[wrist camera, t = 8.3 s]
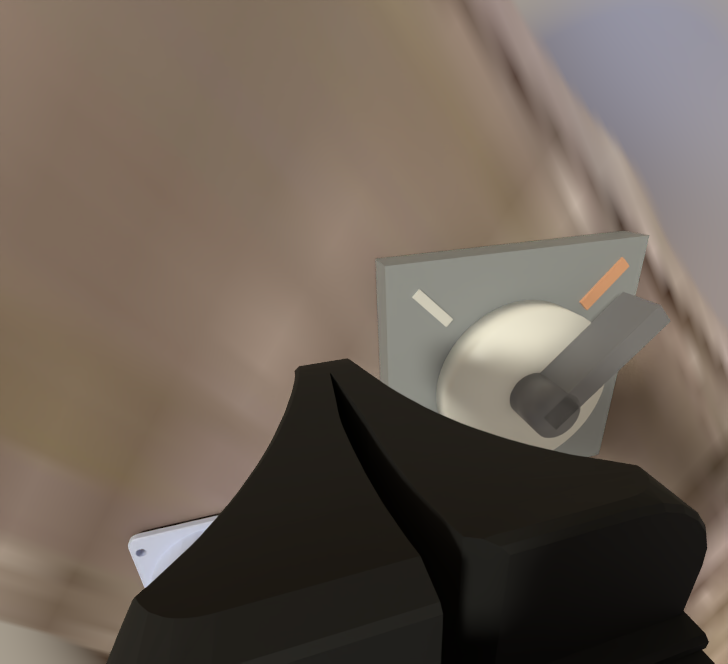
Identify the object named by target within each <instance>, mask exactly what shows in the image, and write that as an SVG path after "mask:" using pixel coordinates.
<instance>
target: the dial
mask: <svg viewBox="0 0 728 664" xmlns="http://www.w3.org/2000/svg"><path fill="white" fill-rule="evenodd" d="M669 322H670V319H669V318H668V316H667V314H666V313H665V311H664V310H663V308H662V306H661V305H659V304H656V303H654V302H651V301H648V300H645V299H642V298H639V297H637V296H634V295H631V294H628V293H625V292H622V293H621V294H620V295H619V296H618V297H617V298H616V299H615V300H614V301H613V302H612V303H611V304H610V305H609V306H608V307H607V308H606V309H605V310H604V311H603V312H602V313H601V314H600V315H599V316H598V317H597V318H596V319H595V320H594V321H593V322H592V323H591V322H590V321H588V320H587V319H586V318H584V317H582V316H580V315H578V314H576V313H574V312H572V311H570V310H568V309H566V308H563V307H561V306H559V305H557V304H555V303H551V302H548V301H542V300H524V301H518V302H514V303H510V304H507V305H504V306H502V307H500V308H497V309H495V310H493V311H492V312H490V313H488V314H486V315H485V316H483V317H482V318H480V319H479V320H478V321H476V322H475V323H474V324H473V325H472V326H471V327H469V328H468V329H467V330H466V331H465V332H464V333H463V335H462V336H461V337H460V338H459V339H458V340H457V342H456V343H455V344H454V346H453V347H452V349H451V350H450V352H449V354H448V355H447V357H446V359H445V361H444V363H443V366H442V368H441V371H440V374H439V378H438V382H437V389H436V403H437V410H438V413H439V414H441V415H443V416H446V417H448V418H450V419H453V420H455V421H457V422H460V423H462V424H465V425H468V426H470V427H473V428H476V429H479V430H482V431H485V432H488V433H491V434H494V435H497V436H500V437H503V438H507V439H510V440H514V441H517V442H521V443H525V444H528V445H532V446H537V447H541V448H545V449H549V450H554V449H556V448H557V447H559V446H560V445H561V444H563V443H564V442H565V441H566V440H568V439H569V438H570V437H571V436H572V435H573V434H574V433H575V432H576V431H577V430H578V429H579V428H580V427H581V426H582V425H583V423H584V422H585V421H586V420H587V418H588V417H589V415H590V414H591V413H592V411H593V409H594V408H595V406H596V404H597V402H598V400H599V398H600V396H601V393H602V391H603V388H604V385H605V383H606V382H607V381H608V380H609V379H610V378H611V377H612V376H613V375H615V374H616V373H617V372H618V371H619V370H620V369H621V368H622V367H623V366H624V365H625V364H626V363H627V362H628V361H629V360H630V359H631V358H632V357H633V356H635V355H636V354H637V353H638V352H639V351H640V350H641V349H642V348H643V347H644V346H645V345H646V344H647V343H648V342H649V341H650V340H651V339H652V338H653V337H655V336H656V335H657V334H658V333H659V332H660V331H661V330H662V329H663V328H664V327H665V326H666V325H667V324H668V323H669Z"/></svg>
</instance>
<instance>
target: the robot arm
mask: <svg viewBox="0 0 728 664" xmlns="http://www.w3.org/2000/svg"><path fill="white" fill-rule="evenodd" d="M128 548H129V551H130V553H131V556H132V558H133V561H134V563H135V565H136V568H137V570H138V573H139V575H140V578H141V580H142V583H143V585H144V588H145V589H144V590H142V591H141V592H140V593H139V594H138V595H137V596H136V597H135V598H134V599H133V600H132V603H131V605H130V607H129V610H128V612H127V614H126V617H125V619H124V621H123V624H122V626H121V629H120V631H119V633H118V636H117V638H116V641H115V643H114V646H113V648H112V651H111V653H110V656H109V658H108V661H107V663H106V664H715V663H714V662H713V661H712V660H711V659H710V658H709V657H708V656H707V655H706V654H705V653H704V652H703V650H702V649H704V648H706V646H707V644H708V642H709V641H708V639H707V637H706V634H705V633H704V632H703V631H702V630H701V629H700V628H699V626H698V625H697V624H696V623H695V622H694V621H693V620H692V619H691V618H690V617H689V616H688V615H687V614H686V613H685V612H684V611H683V610H684V608H685V605H686V603H687V601H688V598H689V596H690V593H691V591H692V589H693V586H694V584H695V581H696V579H697V577H698V574H699V572H700V570H701V567H702V564H703V561H704V557H705V554H706V550H707V539H706V528H705V524H704V523H703V521H702V519H701V518H700V516H699V514H698V513H697V512H696V511H695V510H693V509H692V508H691V507H690V506H688V505H687V504H686V503H685V502H683V501H682V500H681V499H680V498H678V497H677V496H676V495H675V494H673V493H672V492H671V491H670V490H668V489H667V488H666V487H664V486H663V485H662V484H661V483H659V482H658V481H657V480H656V479H654V478H653V477H652V476H651V475H649V474H648V473H647V472H646V471H644V470H643V469H642V468H640V467H639V466H637V465H631V464H625V463H619V462H613V461H607V460H601V459H595V458H590V457H584V456H578V455H572V454H567V453H562V452H558V451H554V450H549V449H545V448H541V447H537V446H532V445H528V444H525V443H521V442H517V441H514V440H510V439H507V438H503V437H500V436H497V435H494V434H491V433H488V432H485V431H482V430H479V429H476V428H473V427H470V426H468V425H465V424H462V423H460V422H457V421H455V420H453V419H450V418H448V417H446V416H443V415H441V414H439V413H436V412H434V411H432V410H430V409H428V408H426V407H424V406H422V405H420V404H418V403H417V402H415V401H413V400H411V399H409V398H407V397H405V396H404V395H402V394H400V393H399V392H397V391H395V390H394V389H392V388H390V387H389V386H387V385H386V384H384V383H383V382H381V381H380V380H378V379H377V378H375V377H374V376H372V375H371V374H369V373H368V372H366V371H365V370H363V369H362V368H361V367H359V366H358V365H356V364H355V363H354V362H352V361H351V360H349V359H348V358H347V359H341V360H335V361H329V362H323V363H317V364H311V365H304V366H299V367H298V368H297V369H296V370H295V381H294V386H293V390H292V393H291V396H290V399H289V402H288V405H287V408H286V411H285V413H284V416H283V418H282V420H281V422H280V424H279V426H278V429H277V431H276V433H275V435H274V437H273V439H272V441H271V443H270V444H269V446H268V448H267V450H266V451H265V453H264V455H263V456H262V458H261V460H260V461H259V463H258V464H257V466H256V468H255V469H254V470H253V472H252V473H251V475H250V476H249V477H248V479H247V480H246V482H245V483H244V485H243V486H242V487H241V489H240V490H239V491H238V493H237V494H236V495H235V497H234V498H233V499H232V500H231V502H230V503H229V504H228V505H227V506H226V507H225V509H224V510H223V511H222V512H221V513H220V514H219V515H217V516H213V517H208V518H204V519H200V520H195V521H191V522H187V523H182V524H178V525H174V526H169V527H165V528H160V529H156V530H152V531H147V532H143V533H139V534H136V535H133V536H132V537H131V539H130V541H129V544H128ZM140 549H144V550H140Z"/></svg>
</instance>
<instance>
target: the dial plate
mask: <svg viewBox="0 0 728 664" xmlns="http://www.w3.org/2000/svg"><path fill="white" fill-rule="evenodd" d="M648 238H649V235H644V234H639V233H634V232H629V231H618V232H610V233H601V234H592V235H583V236H574V237H565V238H556V239H547V240H538V241H529V242H520V243H511V244H503V245H494V246H485V247H476V248H467V249H458V250H449V251H440V252H431V253H422V254H413V255H404V256H396V257H387V258H378V259H376V284H377V310H378V335H379V360H380V381H381V382H383V383H384V384H386V385H387V386H389V387H390V388H392V389H394V390H395V391H397V392H399V393H400V394H402V395H404V396H405V397H407V398H409V399H411V400H413V401H415V402H417V403H418V404H420V405H422V406H424V407H426V408H428V409H430V410H432V411H434V412H436V413H438V410H437V403H436V389H437V382H438V378H439V374H440V371H441V368H442V366H443V363H444V361H445V359H446V357H447V355H448V354H449V352H450V350H451V349H452V347H453V346H454V344H455V343H456V342H457V340H458V339H459V338H460V337H461V336H462V335H463V333H464V332H465V331H466V330H467V329H468V328H469V327H471V326H472V325H473V324H474V323H475V322H476V321H478V320H479V319H480V318H482V317H483V316H485V315H486V314H488V313H490V312H492V311H493V310H495V309H497V308H500V307H502V306H504V305H507V304H510V303H514V302H518V301H524V300H542V301H548V302H551V303H555V304H557V305H559V306H561V307H563V308H566V309H568V310H570V311H572V312H574V313H576V314H578V315H580V316H582V317H584V318H586V319H587V320H588V321H590V322H591V323H592V322H593V321H594V320H595V319H596V318H597V317H598V316H599V315H600V314H601V313H602V312H603V311H604V310H605V309H606V308H607V307H608V306H609V305H610V304H611V303H612V302H613V301H614V300H615V299H616V298H617V297H618V296H619V295H620V294H621V293H622V292H625V293H628V294H631V295H634V296H635V295H636V290H637V286H638V282H639V277H640V273H641V269H642V264H643V260H644V256H645V251H646V247H647V243H648ZM617 373H618V372H617ZM617 373H616V374H615V375H613V376H612V377H611V378H610V379H609V380H608V381H607V382H606V383H605V385H604V388H603V391H602V393H601V396H600V398H599V400H598V402H597V404H596V406H595V408H594V409H593V411H592V413H591V414H590V415H589V417H588V418H587V420H586V421H585V422H584V423H583V425H582V426H581V427H580V428H579V429H578V430H577V431H576V432H575V433H574V434H573V435H572V436H571V437H570V438H569V439H568V440H566V441H565V442H564V443H563V444H561V445H560V446H559V447H557V448H556V449H554V451H558V452H562V453H567V454H572V455H578V456H584V457H590V456H594V455H598V454H599V451H600V447H601V442H602V438H603V434H604V429H605V425H606V421H607V416H608V412H609V408H610V403H611V399H612V395H613V390H614V386H615V382H616V377H617Z"/></svg>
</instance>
